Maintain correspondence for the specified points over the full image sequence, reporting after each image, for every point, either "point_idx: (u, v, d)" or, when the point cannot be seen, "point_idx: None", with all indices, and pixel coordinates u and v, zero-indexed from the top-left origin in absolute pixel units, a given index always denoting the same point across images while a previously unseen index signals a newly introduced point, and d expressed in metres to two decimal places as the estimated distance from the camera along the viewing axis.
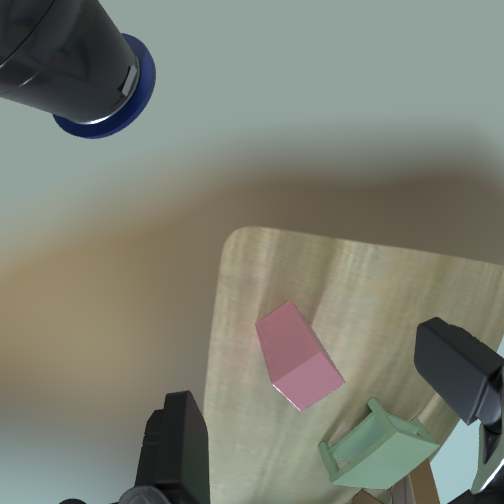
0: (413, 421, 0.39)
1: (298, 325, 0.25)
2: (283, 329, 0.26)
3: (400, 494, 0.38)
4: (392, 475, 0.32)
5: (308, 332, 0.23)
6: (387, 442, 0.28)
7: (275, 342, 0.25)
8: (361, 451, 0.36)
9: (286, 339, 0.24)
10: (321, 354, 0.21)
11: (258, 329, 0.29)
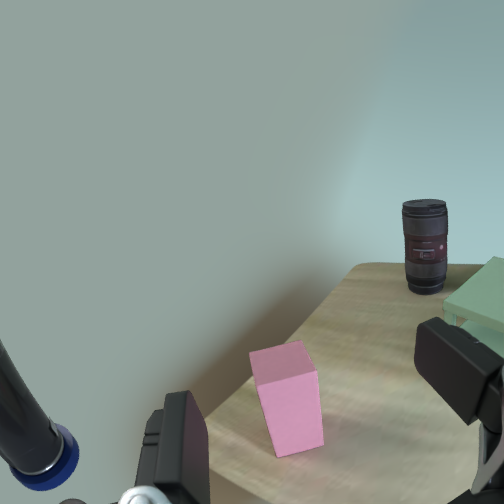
0: None
1: None
2: None
3: None
4: None
5: None
6: (460, 303, 0.25)
7: None
8: None
9: None
10: (252, 352, 0.23)
11: None
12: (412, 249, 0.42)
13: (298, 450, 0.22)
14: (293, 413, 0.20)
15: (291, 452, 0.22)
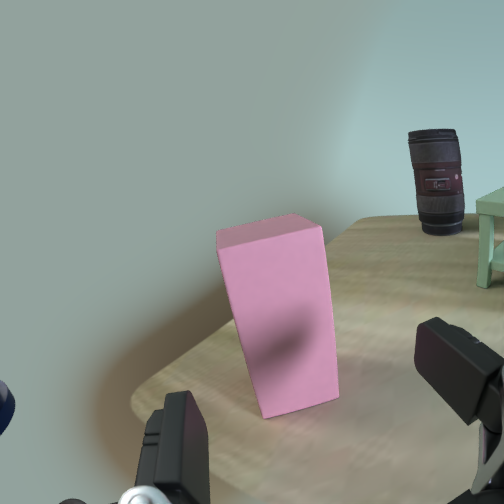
0: None
1: None
2: None
3: None
4: None
5: None
6: (496, 201, 0.17)
7: None
8: None
9: None
10: (221, 229, 0.16)
11: (257, 400, 0.14)
12: (424, 180, 0.35)
13: (299, 406, 0.15)
14: (286, 320, 0.13)
15: (286, 409, 0.14)
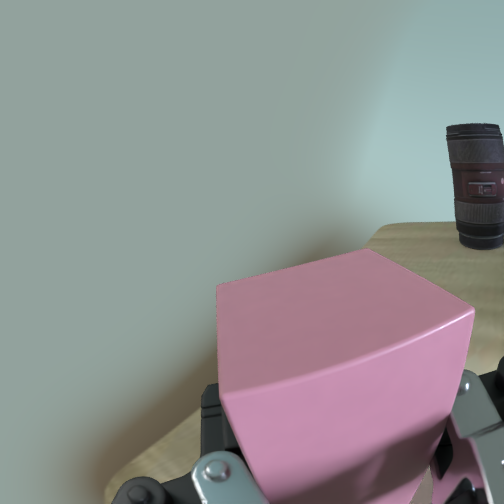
0: None
1: None
2: None
3: None
4: None
5: None
6: None
7: None
8: None
9: None
10: (226, 283, 0.08)
11: None
12: (467, 183, 0.26)
13: None
14: (362, 477, 0.05)
15: None
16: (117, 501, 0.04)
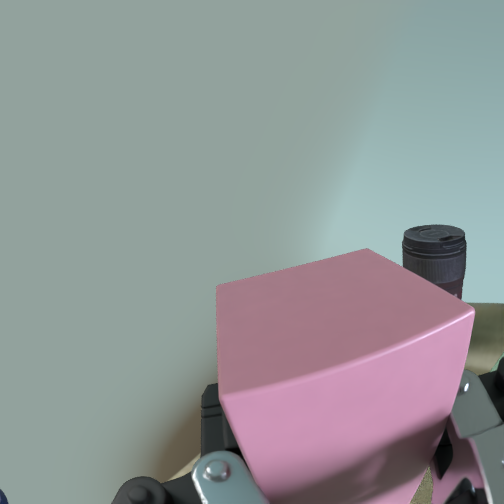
0: None
1: None
2: None
3: None
4: None
5: None
6: None
7: None
8: None
9: None
10: (226, 284, 0.08)
11: None
12: None
13: None
14: (362, 477, 0.05)
15: None
16: (117, 501, 0.04)
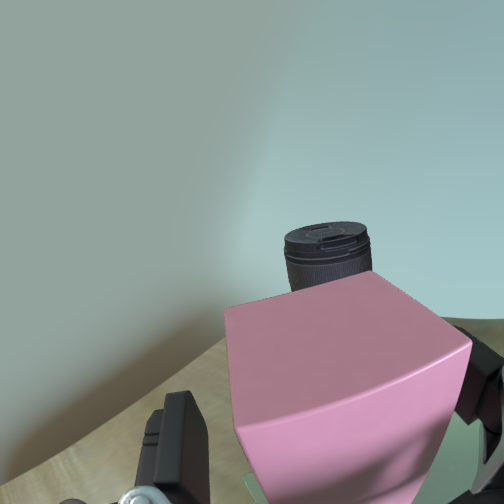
0: None
1: None
2: None
3: None
4: None
5: None
6: (266, 500, 0.10)
7: None
8: None
9: None
10: (233, 307, 0.08)
11: None
12: None
13: None
14: (363, 489, 0.05)
15: None
16: None
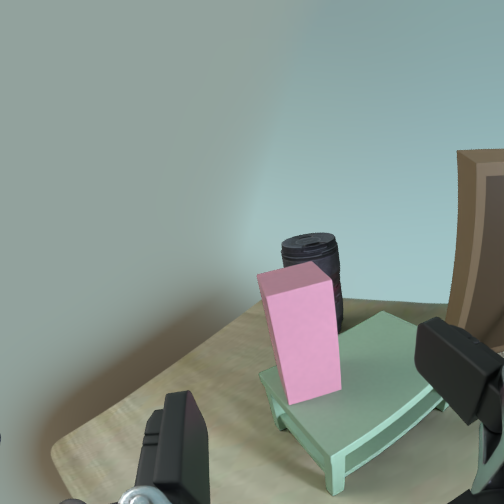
0: None
1: (269, 330, 0.24)
2: (274, 347, 0.22)
3: None
4: (410, 356, 0.22)
5: (264, 309, 0.23)
6: (272, 382, 0.24)
7: (274, 345, 0.21)
8: None
9: (270, 331, 0.22)
10: (260, 274, 0.23)
11: (285, 391, 0.21)
12: None
13: (314, 395, 0.21)
14: (307, 337, 0.20)
15: (305, 397, 0.21)
16: None
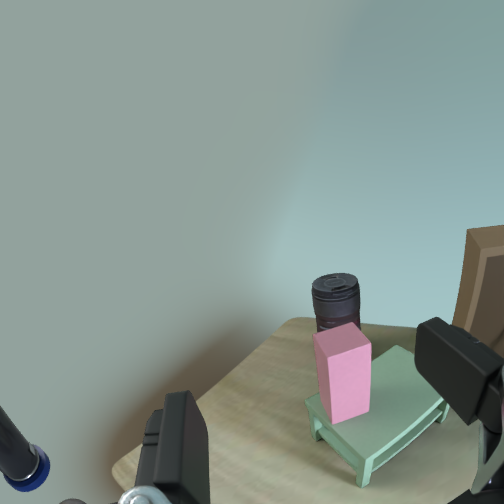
0: None
1: (318, 371, 0.30)
2: (322, 384, 0.28)
3: None
4: (417, 385, 0.28)
5: None
6: (316, 407, 0.30)
7: (325, 385, 0.27)
8: None
9: (321, 374, 0.28)
10: (315, 333, 0.29)
11: (330, 415, 0.27)
12: (319, 326, 0.48)
13: (350, 416, 0.27)
14: (350, 380, 0.26)
15: (344, 418, 0.27)
16: None
